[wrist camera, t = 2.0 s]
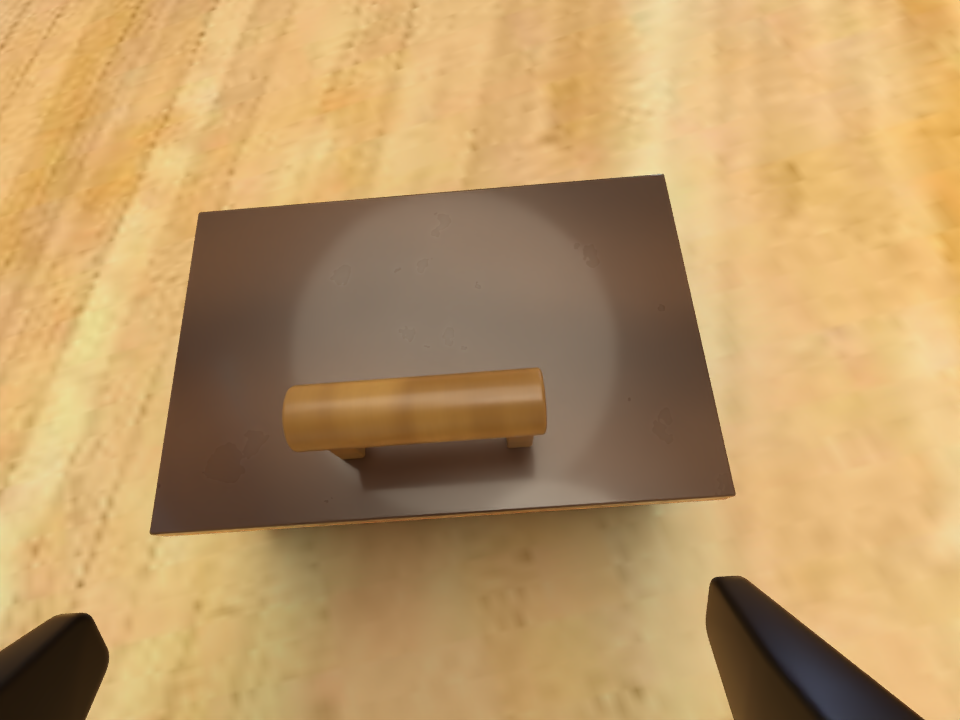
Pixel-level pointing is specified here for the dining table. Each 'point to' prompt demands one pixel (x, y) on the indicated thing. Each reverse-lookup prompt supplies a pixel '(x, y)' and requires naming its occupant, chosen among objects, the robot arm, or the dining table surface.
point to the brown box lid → (438, 361)
